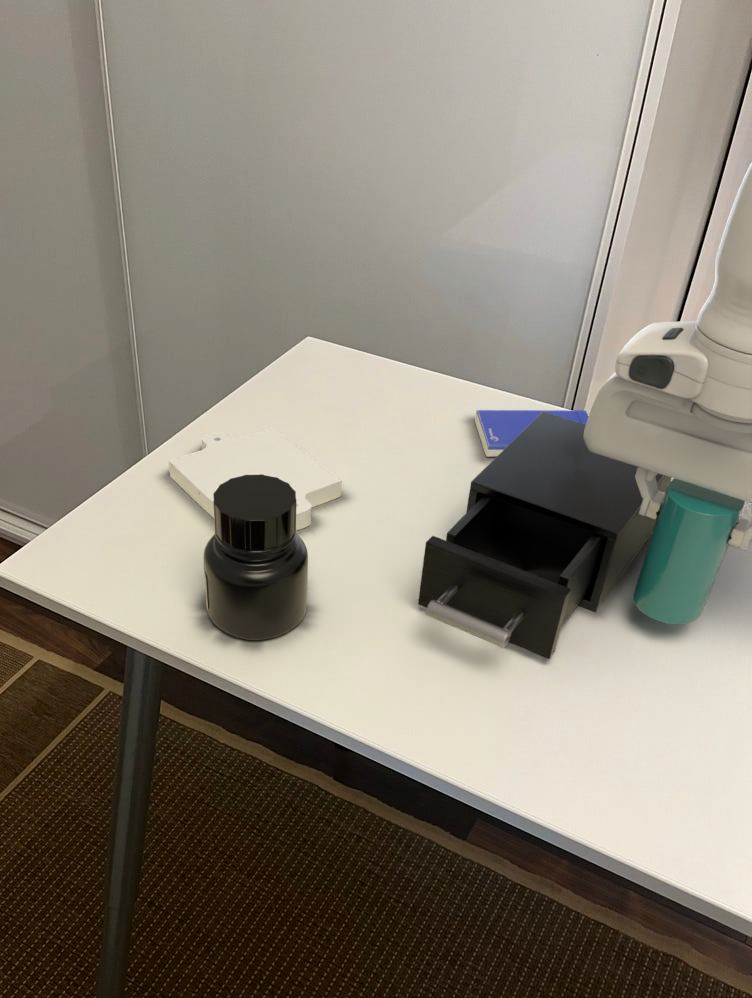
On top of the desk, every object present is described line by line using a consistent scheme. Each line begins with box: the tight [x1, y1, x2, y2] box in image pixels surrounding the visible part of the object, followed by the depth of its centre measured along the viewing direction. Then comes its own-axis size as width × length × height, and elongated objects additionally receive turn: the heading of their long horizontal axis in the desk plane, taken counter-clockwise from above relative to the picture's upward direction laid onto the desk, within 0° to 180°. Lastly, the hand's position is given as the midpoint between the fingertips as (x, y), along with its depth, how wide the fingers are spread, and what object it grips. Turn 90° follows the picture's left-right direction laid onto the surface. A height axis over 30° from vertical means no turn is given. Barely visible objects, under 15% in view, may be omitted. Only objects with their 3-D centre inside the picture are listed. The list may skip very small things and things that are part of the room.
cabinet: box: [465, 412, 672, 613], centre depth 91 cm, size 16×14×9 cm
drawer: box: [417, 494, 607, 660], centre depth 84 cm, size 19×12×7 cm, turn 145°
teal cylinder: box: [632, 478, 746, 625], centre depth 80 cm, size 6×6×11 cm
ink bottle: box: [203, 474, 309, 641], centre depth 83 cm, size 10×9×12 cm
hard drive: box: [474, 409, 589, 458], centre depth 108 cm, size 2×8×12 cm
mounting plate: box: [168, 426, 343, 532], centre depth 101 cm, size 18×13×2 cm
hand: (692, 529), depth 78 cm, fingers closed on teal cylinder, 6 cm apart
